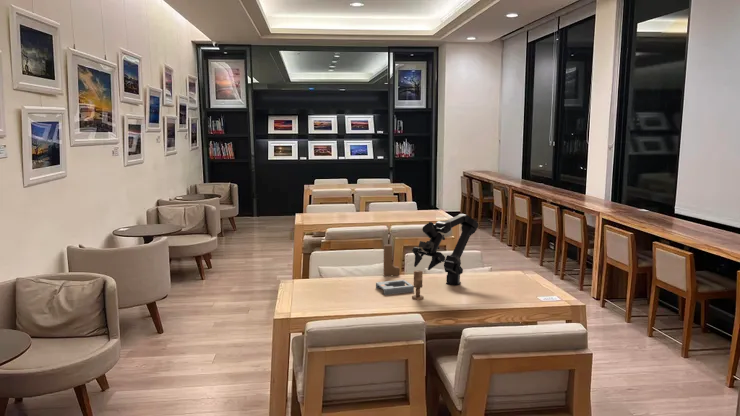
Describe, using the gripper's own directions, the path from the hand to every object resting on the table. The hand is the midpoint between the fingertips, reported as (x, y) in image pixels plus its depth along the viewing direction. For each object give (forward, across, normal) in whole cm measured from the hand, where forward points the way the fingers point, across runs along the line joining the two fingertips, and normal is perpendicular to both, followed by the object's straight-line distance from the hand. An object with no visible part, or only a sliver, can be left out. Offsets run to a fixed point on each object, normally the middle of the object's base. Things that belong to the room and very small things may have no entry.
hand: (421, 268), depth 279 cm
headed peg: (+15, +4, +4) cm, 16 cm away
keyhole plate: (+14, -14, +5) cm, 20 cm away
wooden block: (+1, -36, +20) cm, 41 cm away
